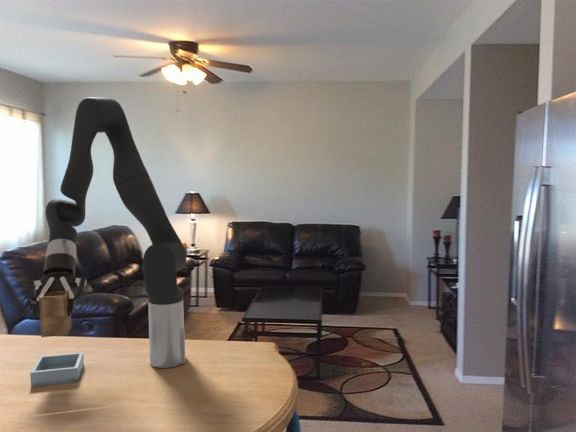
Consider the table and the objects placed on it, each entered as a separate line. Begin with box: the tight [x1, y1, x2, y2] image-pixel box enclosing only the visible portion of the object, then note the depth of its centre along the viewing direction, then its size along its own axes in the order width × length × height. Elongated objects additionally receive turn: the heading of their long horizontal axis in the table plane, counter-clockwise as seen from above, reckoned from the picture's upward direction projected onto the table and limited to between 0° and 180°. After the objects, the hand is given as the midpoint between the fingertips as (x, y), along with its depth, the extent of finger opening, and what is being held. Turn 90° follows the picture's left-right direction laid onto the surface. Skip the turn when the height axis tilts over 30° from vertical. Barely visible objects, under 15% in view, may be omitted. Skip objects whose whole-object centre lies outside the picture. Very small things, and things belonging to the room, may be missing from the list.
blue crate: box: [29, 351, 85, 388], centre depth 125 cm, size 11×11×4 cm
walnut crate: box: [39, 290, 73, 338], centre depth 124 cm, size 6×6×10 cm
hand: (54, 315), depth 122 cm, fingers closed on walnut crate, 6 cm apart
